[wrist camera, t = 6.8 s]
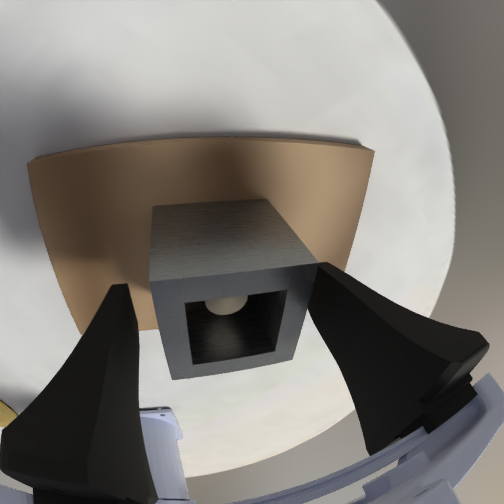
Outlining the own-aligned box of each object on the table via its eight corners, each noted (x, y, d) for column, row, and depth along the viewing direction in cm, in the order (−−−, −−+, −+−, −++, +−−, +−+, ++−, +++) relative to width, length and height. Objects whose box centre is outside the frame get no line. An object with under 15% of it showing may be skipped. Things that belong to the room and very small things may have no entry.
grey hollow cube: (163, 296, 14) (172, 380, 10) (152, 206, 11) (149, 281, 7) (257, 286, 15) (292, 359, 11) (267, 198, 13) (319, 262, 9)
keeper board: (82, 322, 15) (73, 384, 11) (35, 157, 9) (-15, 196, 6) (327, 292, 19) (360, 340, 15) (363, 146, 13) (423, 175, 10)
